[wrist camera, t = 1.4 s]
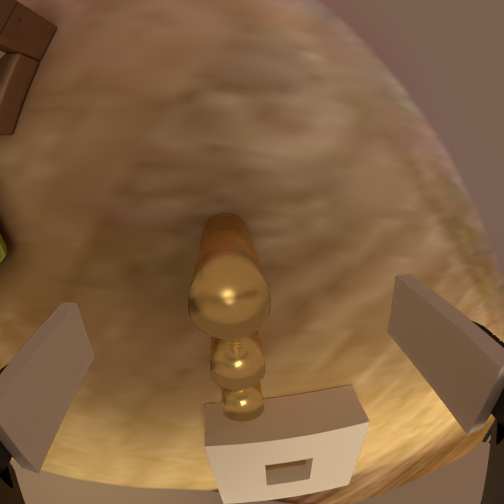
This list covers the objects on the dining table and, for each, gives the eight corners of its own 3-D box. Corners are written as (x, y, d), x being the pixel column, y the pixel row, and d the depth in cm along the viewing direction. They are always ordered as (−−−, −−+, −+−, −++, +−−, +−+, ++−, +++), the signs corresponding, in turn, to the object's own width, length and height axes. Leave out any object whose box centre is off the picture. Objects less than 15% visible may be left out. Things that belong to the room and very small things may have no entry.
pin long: (205, 258, 25) (194, 342, 14) (201, 215, 24) (182, 270, 13) (250, 255, 25) (272, 335, 14) (247, 211, 24) (269, 262, 13)
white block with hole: (221, 468, 34) (223, 503, 29) (205, 403, 30) (204, 446, 24) (336, 452, 35) (348, 484, 30) (350, 384, 31) (369, 421, 25)
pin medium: (215, 332, 27) (214, 391, 20) (210, 296, 26) (207, 351, 19) (254, 328, 28) (266, 387, 20) (252, 292, 26) (264, 346, 19)
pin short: (223, 387, 29) (224, 423, 25) (219, 361, 28) (220, 396, 24) (258, 384, 30) (264, 419, 25) (256, 357, 29) (263, 392, 24)
